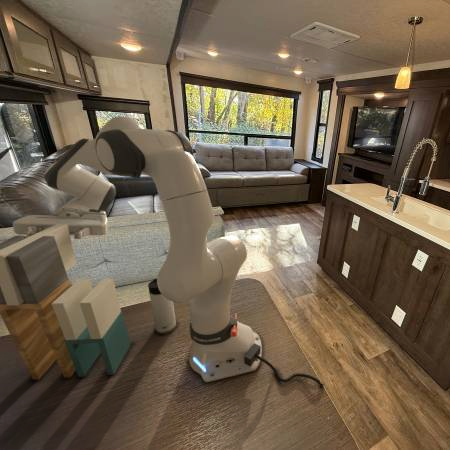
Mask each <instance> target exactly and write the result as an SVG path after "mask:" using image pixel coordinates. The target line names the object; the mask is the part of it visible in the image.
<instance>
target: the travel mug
mask: <svg viewBox="0 0 450 450" xmlns="http://www.w3.org/2000/svg"><path fill="white" fill-rule="evenodd" d="M147 287H148V293H149V300H150V305H151V310H152V315H153V321H154V327H155V331H156V332H157V333H158V334H161V335H162V334H169V333H171V332H172V331H173V330H174V329H175V328H176V326H177V321H176V314H175V308H174V307H175V306H174V302H172V301H170V300H168V299H167V298H165V297H164V296H163V295H162V294H161V292H160V290H159V288H158V284H157V277H156V278H154V279H152V280H151V281H150V282H148V284H147Z"/></svg>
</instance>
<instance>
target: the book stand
mask: <svg viewBox="0 0 450 450" xmlns="http://www.w3.org/2000/svg"><path fill="white" fill-rule="evenodd" d="M25 238H28V237H27V235H14V236H12V237H10V238H8V239H6V240H4V241H1V242H0V250H1V249H4V248H6V247H8V246H10V245H12V244H14V243H17V242H19V241H21V240H23V239H25ZM6 258H7V260H8V263H9V265H10V267H11V269H12V272H13V274H14V276H15V279H16V281H17V283H18V285H19V288H20V290H21V292H22V294H23V297H24V299H25V301H24V302H23V303H22V304H20V305H7V303H6V301H5V298H4V295H3V292H2V289H1V287H0V317H1V319H2V321H3V323H4V325H5V327H6V329H7V331H8V333H9V336H10V337H11V339H12V341H13V343H14V346H15V347H16V349H17V351H18V353H19V355H20V357H21V358H22V361H23V363H24V365H25V367H26V368H27V371H28V373H29V375H30V377H31V379H32V380H40V379H41V377H43V376H44V374H45V373H46V372H47V371H48V370H49V368H50V367H51V366H52V365H53V364H54V363H55V361H56V362H57V364H58V366H59V369H60V371H61V373H62V376H63V378H71V377H72V376H73V375H74V373H75V372H76V369H75V366H74V364H73V361H72V359H71V356H70V354H69V351H68V349H67V346H66V344H65V341H64V340H65V337H64V334H63V332H62V329H61V327H60V324H59V321H58V319H57V316H56V314H55V311H54V309H53V306H52V303H53V302H54V301H55V300H56V299H57V298H58V297H60V296H61V295H62V294H63V293H64V292H65V291H66V290H67V289H69V288H70V287H71V286H72V285H73V283H72V280H71V279H70V278H69V276H68V273H67V271H66V270H65V267H64V264H63V261H62V258H61V255H60V252H59V249H58V246H57V243H56V241H55V238H54V236H43V237H41V238H39V239H37V240H35V241H33V242H32V243H30V244H28V245H26V246H24V247H22V248H21V249H19V250H17V251H15V252H13V253H11V254H10V255H8V256H6Z"/></svg>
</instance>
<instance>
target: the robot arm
mask: <svg viewBox="0 0 450 450" xmlns="http://www.w3.org/2000/svg"><path fill="white" fill-rule="evenodd" d="M80 165H82V166H85V167H88V168H90V169H93V170H96V171H97V172H100V173H103V174H105V175H108V176H109V175H110V176H119V177H125V178H133V179H137V180H138V179H140V178H141V176H142V175H145V176H148V177H149V178H151V179H152V180H153V183H154V184H155V187H156V191H157V194H158V196H159V200H160V204H161V206H162V209H163V212H164V217H165V219H166V223H167V227H168V230H169V246H168V251H167V254H166V257H165V260H164V262H163V264H162V265H161V267H160V268H159V270H158V273H157V276H156V278H157V284H158V288H159V290H160V292H161V294H162V295H163V296H164V297H165V298H167V299H168V300H170V301H172V302H173V303H176V304H181V303H184V302H186V301H189V303H188V307H189V317H190V323H189V335H190V339H191V350H190V353H189V357H188V361H189V365H190V367H191V369H192V370H193V371H195V372H196V373H198V374H199V375H200V377H201V378H202V380H203V381H204V382H205V383H210V382H215V381H218V380H222V379H226V378H230V377H235V376H239V375H242V374H247V373H250V372H254V371H256V370H257V369H258V368H259V366H260V363H261V362H263V364H266V366H268V367H269V368H270V369H271V370H272V371H273V372H274V373H275V376H276V377H277V379H278V380H279V381H280V382H282V383H289V382H290V381H292V379H294V378H297V377H299V378H300V377H301V378H307V379H310V380H312V381H314V382H315V383H317V384H318V385H319V386H320V387H321V388H324V387H325V385H324V383H323V382H322V381H321V380H320V379H318V378H316V377H315V376H313V375H310V374H307V373H299V372H298V373H293V374H292V375H290V376H289V377H287V378H283V377H281V375H280V373H279V371H278V370H277V369H276V367H275V366H274V365H273V364H272V363H271V362H269V360H267V359H265V358H263V357H262V355H263V347H262V346H263V345H262V340H261V338H260V335H259V334H258V333H257V332H254V331H253V329H252V328H251V326H249V325H246V324H245V323H242V322H240V321H238V317H237V316H238V315H237V312H236V313H235V314H234V316H233V315H232V314H231V298H232V293H233V289H234V286H235V284H236V280H237V277H238V275H239V272H240V270H241V268H242V266H243V264H244V263H245V262H246V260H247V257H248V251H247V247H246V244H245V243H244V242H243V241H242V240H241V239H240V238H239V237H237V236H236V235H227V236H226V235H225V236H222V237H217V238H214V239H213V240H210V241H207V240H208V236H209V235H208V234H209V231H210V229H211V228H212V227H213V225H214V224H215V220H216V214H215V211H214V208H213V204H212V202H211V198H210V195H209V191H208V188H207V185H206V182H205V180H204V177H203V175H202V172H201V170H200V168H199V165H198V164H197V162H196V160H195V158H194V148H193V145H192V142H191V141H190V140H189V138H188V137H187V136H186V135H185V134H183V133H181V132H179V131H175V130H169V129H166V130H160V129H148V128H145V127H143V125H142V124H140V123H139V122H138V121H136V120H135V119H133V118H130V117H128V116H114V117H112V118H111V119H109V120H108V121H107V122H106V123H105V124H104V125H103V126H102V127H100V129H99V131H98V132H97V134H96V136H95V138H94V139H93V138H92V139H89V138H81V139H79V140H78V141H76V142H75V143H74V144H73V145H71V147H69V148H68V149H67V150H66V151H65V153H64V154H63V155H62V156H61V157H60V158H59V159H58V160H57V161H55V162H53V163H52V164H50V165H49V166H48V168H47V169H46V170H45V172H44V175H43V178H44V181H45V183H46V185H47V186H48V187H49V188H51V189H55V190H56V191H59V192H63V193H65V194H66V195H69V196H71V197H73V198H72V199H70V200H69V201H67V202H66V203H65V204H64V205H62V206H61V207H59V208H58V209H57V210H55V211H54V213H53V214H52V215H51V214H50V215H49V214H45V215H44V214H29V215H25V216H23V217H20V218H18V219H16V220H14V221H13V222H12V229H13V232H14V234H16V235H17V236H27V237H30V236H32V235H34V234H36V233H38V232H41V231H43V230H45V229H47V228H49V227H52V226H54V225H56V224H67V225H68V229H69V233H70V236H73V237H74V238H73V239H74V240H82V239H83V238H85V237H88V236H97V237H98V236H101V237H102V236H105V235H107V234H108V218H107V217H108V216H107V213H106V210H107V209H108V208H109V207H110V205H112V203H113V202H114V199H115V198H116V196H117V189H116V186H115V185H114V184H113V183H111V182H110V181H108V180H106V179H104V178H103V177H100V176H99V175H97V174H95V173H92V172H91V171H89V170H87V169H85V168H83V167H82V166H80ZM320 382H321V383H322V384H321V383H320ZM322 385H323V386H324V387H323V386H322Z"/></svg>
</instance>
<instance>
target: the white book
mask: <svg viewBox="0 0 450 450" xmlns="http://www.w3.org/2000/svg"><path fill="white" fill-rule="evenodd" d="M43 236H54V238H55V241H56V243H57V246H58V249H59V252H60V255H61V258H62V261H63V264H64V267H65V270H66V272H68V271H69V270H70V269H72V268H74V266H76V265H77V260H76V255H75V252H74V248H73V243H72V239H71V238H72V237H71V235H70V233H69V229H68V225H67V224H56V225H54V226H52V227H49V228H47V229H45V230H43V231H41V232H38V233H36V234H34V235H32V236H30V237H28V238H25V239H23V240H21V241H19V242H17V243H14V244H12V245H10V246H8V247H6V248H4V249H1V250H0V287H1V289H2V292H3V295H4V298H5V301H6V303H7V305H20V304H22V303H23V302H24V301H25V299H24V297H23V294H22V292H21V290H20V288H19V285H18V283H17V281H16V279H15V276H14V274H13V272H12V269H11V267H10V265H9V263H8V260H7V258H6V256H8V255H10V254H11V253H13V252H15V251H17V250H19V249H21V248H22V247H24V246H26V245H28V244H30V243H32V242H33V241H35V240H37V239H39V238H41V237H43Z"/></svg>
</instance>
